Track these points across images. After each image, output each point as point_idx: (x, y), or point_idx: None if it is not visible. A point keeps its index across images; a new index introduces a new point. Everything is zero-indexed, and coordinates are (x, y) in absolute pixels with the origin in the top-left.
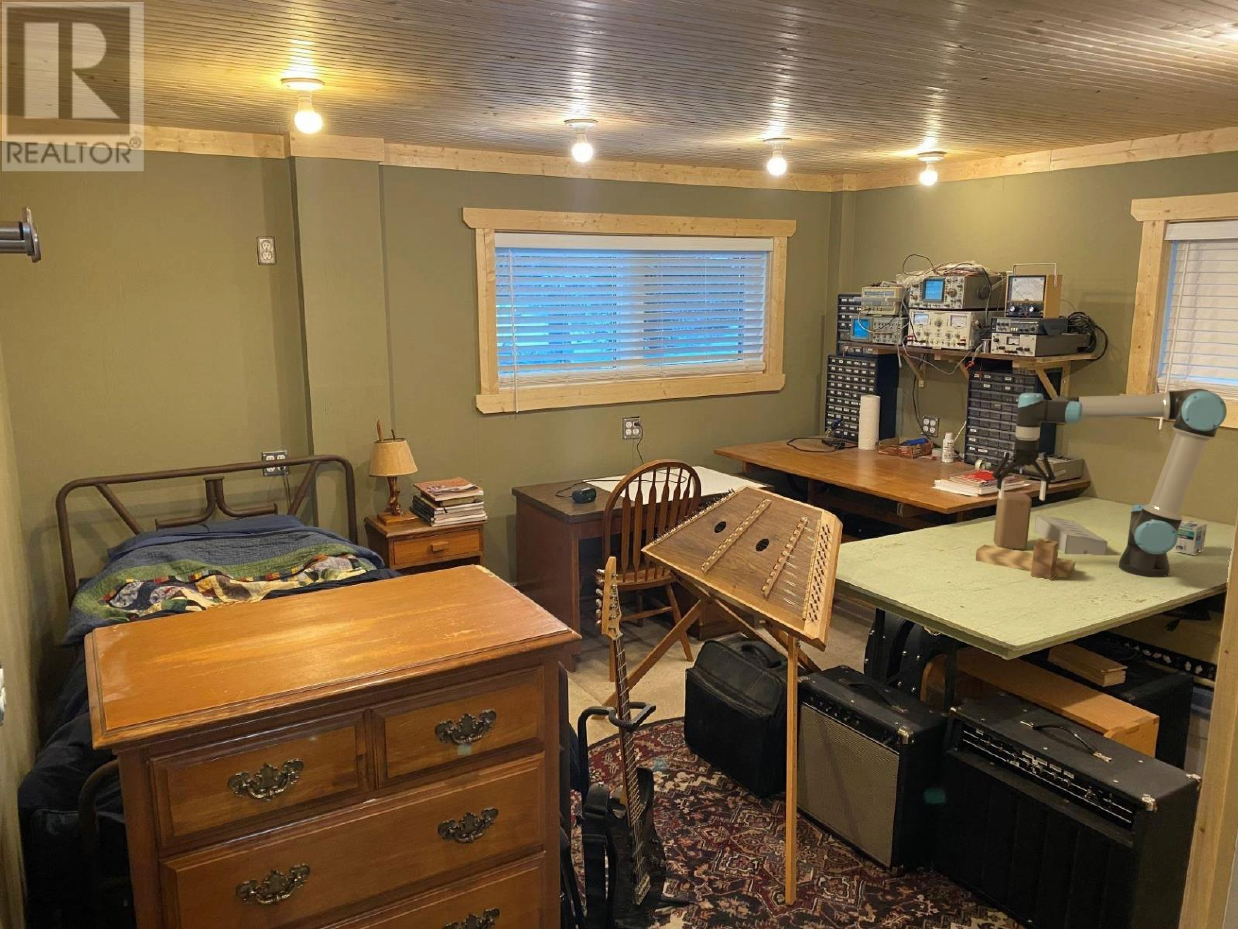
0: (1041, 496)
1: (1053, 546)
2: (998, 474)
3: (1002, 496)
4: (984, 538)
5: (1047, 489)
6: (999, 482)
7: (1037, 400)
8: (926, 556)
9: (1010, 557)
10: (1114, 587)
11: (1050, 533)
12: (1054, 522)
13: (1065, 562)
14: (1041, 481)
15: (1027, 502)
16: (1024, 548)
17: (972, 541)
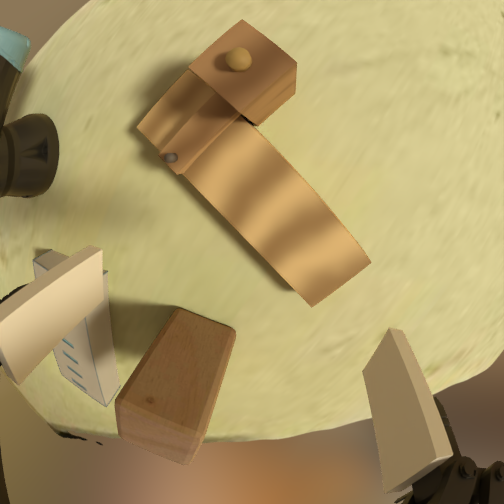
0: (87, 278)
1: (243, 21)
2: (492, 499)
3: (401, 343)
4: (227, 388)
5: (22, 287)
6: (451, 444)
7: None
8: (446, 294)
9: (307, 184)
10: (137, 30)
11: (103, 349)
12: (86, 371)
13: (171, 109)
14: (19, 372)
15: (131, 398)
16: (180, 309)
17: (266, 379)
